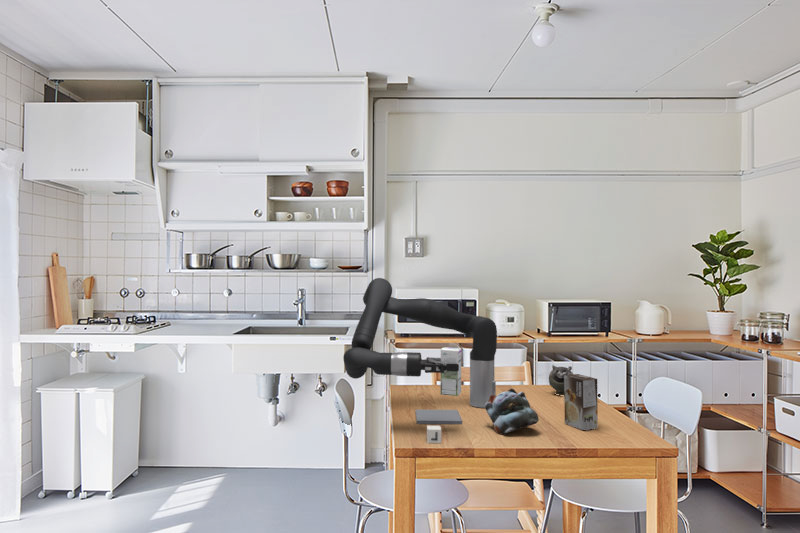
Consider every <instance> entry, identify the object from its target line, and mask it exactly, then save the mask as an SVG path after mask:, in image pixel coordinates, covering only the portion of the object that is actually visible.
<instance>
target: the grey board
mask: <svg viewBox="0 0 800 533" xmlns="http://www.w3.org/2000/svg"><path fill="white" fill-rule="evenodd" d="M415 419H416V420H415V421H416V424H417V425H418V424H419V425H420V424H421V425H463V419H462V417H461V414H460V412H459V410H458V409H425V408H424V409H415Z"/></svg>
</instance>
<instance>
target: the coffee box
mask: <svg viewBox="0 0 800 533" xmlns="http://www.w3.org/2000/svg"><path fill="white" fill-rule="evenodd" d="M563 399H564V400H563V402H564V405H563V406H564V407H563V408H564V424H565V423H566V424H565V425H567V424H568V425H567V426H570V425H571V426H570V427H573V428H575V427H576V429H578V430H581V431H583V430H586V431H590V429H592V430H595V429H594V428H599V426H598V420H599V418H598V411H599V410H598V378H596V377H595V378H594V377H592V376H587V375H583V374H578V373H573V374H572V375H564V397H563Z"/></svg>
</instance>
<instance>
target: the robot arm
mask: <svg viewBox="0 0 800 533" xmlns="http://www.w3.org/2000/svg"><path fill="white" fill-rule="evenodd" d="M392 294H393V287H392V284H391V283H390V282H389V281H388V280H387V279H386V278H382V277H376V278H374V279H373V280H371V281H370V282H369V284H368V285H367V288H366V290H365V292H364V294H363V296H362V297H363V298H362V301H363V304H364V306H365V307H364V309H363V311H362V313H361V316H360V318H359V321H358V323H357V324H356V327H355V331H354V334H353V337H352V340H351V348H348V349H347V350H346V351H345V352H344V354H343V363H344V367H345V372H346V374H347V375H348V376H349V377H350V378H351V379H355V380H357V379H360V378H362V377H364V375H365V374H366V373H367V371H368V368H369V369H372V371H373V373H375V374H376V375H382V376H395V377H396V376H397V377H421V375H422V371H424V373H426V374H439V373H440V374H441V373H444V372H446V370H447V371H459V365H458V364H447V365H446V363H441V357H429V356H428V357H427V356H426V358H425V359H422V353H421V352H413V351H412V352H407V351H403V352H402V351H401V352H400V351H398V352H379V351H376V350H372V347H373V345H374V341H375V338H376V335H377V331H378V328H379V323H380V320H381V317H382V313H385V314H390V315H395V316H399V317H403V318H405V319H409V320H412V321H416V322H419V323H422V324H424V325H428V326H431V327H433V328H434V327H436V328H440V329H444V330H445V329H446V330H453V331H456V332H459V333H461V334H463V335H466V336H468V337H470V338H472V348H471V351H470V352H469V405H470V406H471V407H475V408H480V409H481V408H484V409H485V407H484V404H486V402H488V401H489V398H490V395H494V396H497V393H496V389H497V388H496V387H497V386H496V385H497V384H496V380H495V359H496V358H495V355H496V353H497V343H498V342H497V340H498V328H497V325H496V323H495V321H493V319H491V318H489V317H485V316H480V315H474V314H469V313H464V312H461V311H458V310H456V309H454V308H453V307H450V306H448V305H446V304H443V303H442V302H438V301H435V300H432V299H430V298H429V299H428V298H421V297H419V298H409V299H407V298H406V299H401V298H395V297H393V296H392Z"/></svg>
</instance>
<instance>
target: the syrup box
mask: <svg viewBox="0 0 800 533" xmlns="http://www.w3.org/2000/svg"><path fill="white" fill-rule="evenodd" d="M462 355H463V353H462V347H447V346H446V347H445V346H443V347H442V348H441V349H440V358H441V363H446V365H447V364H458V365H459V371H447V370H446V372H444V373H440V390H439V391H440V393H439V394H440V395H442V396H451V397H452V396H453V397H458V396H460V395H461V393H462V360H463V359H462Z"/></svg>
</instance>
